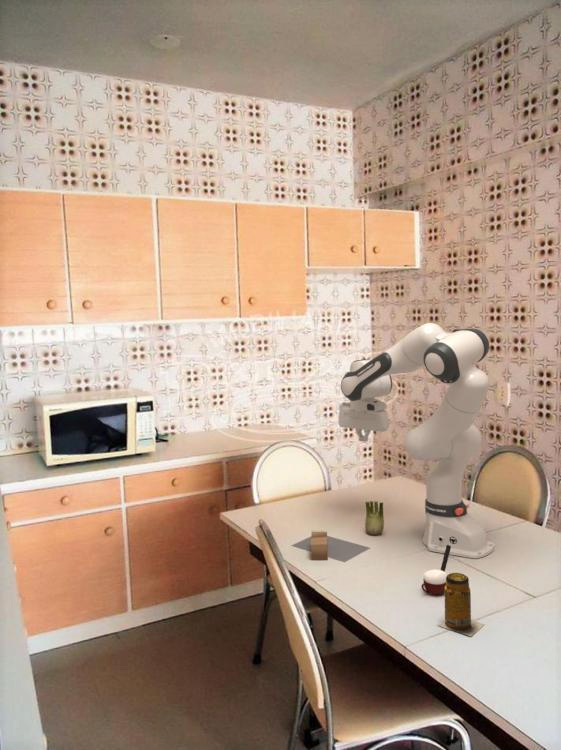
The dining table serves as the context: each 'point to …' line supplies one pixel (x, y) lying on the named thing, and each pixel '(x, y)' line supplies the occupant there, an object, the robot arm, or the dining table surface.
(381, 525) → the fennel bulb
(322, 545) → the walnut block
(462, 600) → the condiment
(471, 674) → the dining table surface
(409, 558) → the dining table surface
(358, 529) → the dining table surface
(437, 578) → the cocoa
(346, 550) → the felt mat
